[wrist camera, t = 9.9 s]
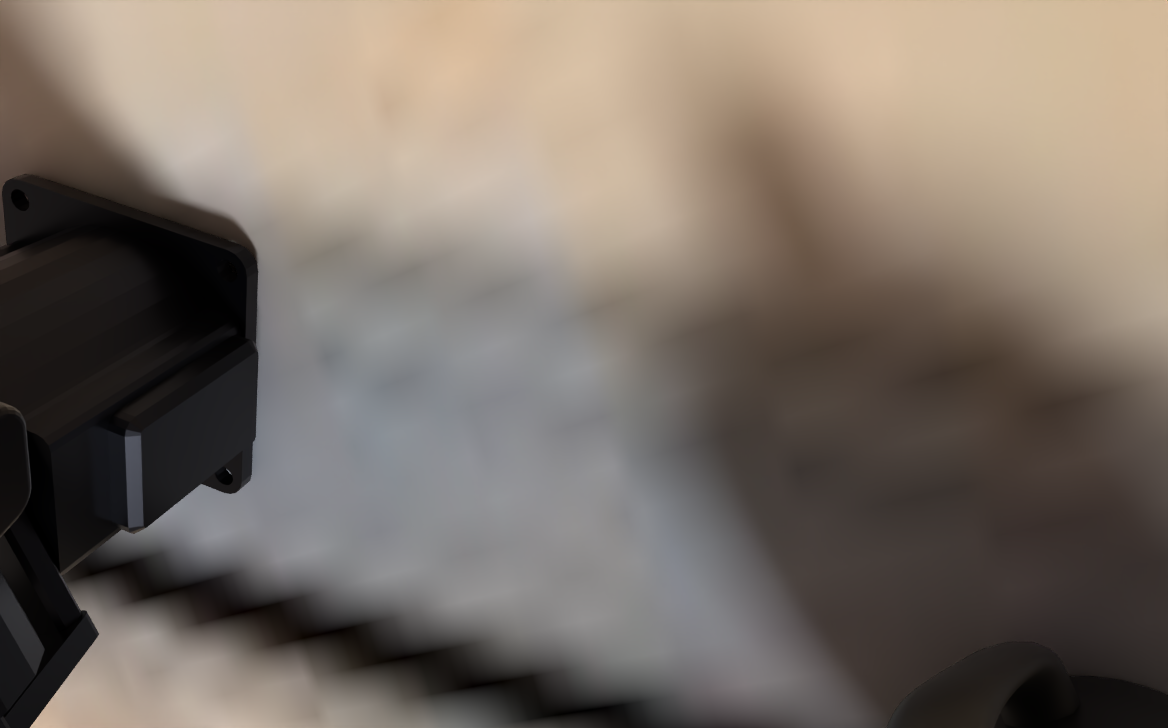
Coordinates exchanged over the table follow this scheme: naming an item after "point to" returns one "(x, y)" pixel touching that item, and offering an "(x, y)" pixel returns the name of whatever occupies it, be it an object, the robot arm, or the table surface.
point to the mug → (1027, 695)
